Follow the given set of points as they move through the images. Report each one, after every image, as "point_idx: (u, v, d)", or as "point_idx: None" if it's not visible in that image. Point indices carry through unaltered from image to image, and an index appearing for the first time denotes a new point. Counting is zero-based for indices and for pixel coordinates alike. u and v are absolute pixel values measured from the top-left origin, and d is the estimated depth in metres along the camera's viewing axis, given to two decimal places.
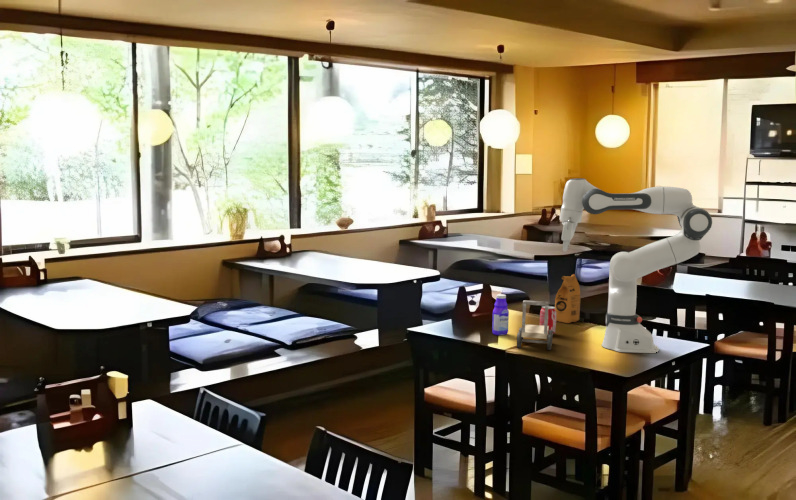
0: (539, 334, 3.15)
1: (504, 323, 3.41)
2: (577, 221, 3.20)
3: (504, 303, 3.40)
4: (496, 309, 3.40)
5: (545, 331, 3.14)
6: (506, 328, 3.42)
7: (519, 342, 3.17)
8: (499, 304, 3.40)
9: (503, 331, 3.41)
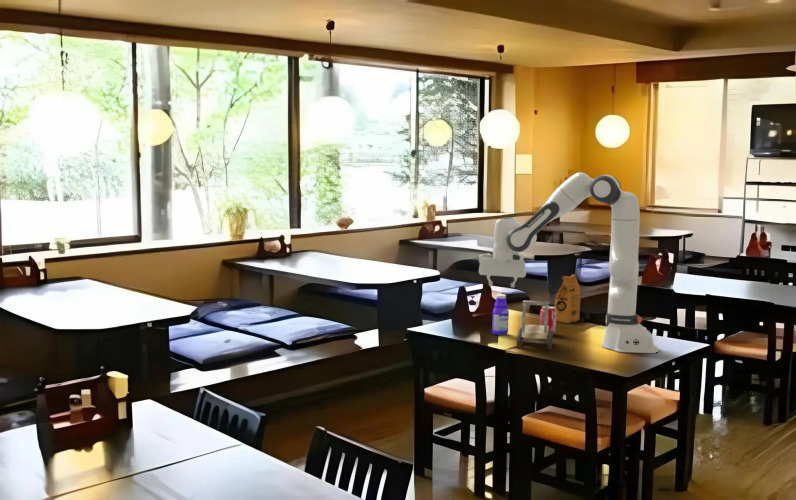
0: (539, 334, 3.15)
1: (504, 323, 3.41)
2: (495, 257, 3.38)
3: (504, 303, 3.40)
4: (496, 309, 3.40)
5: (545, 331, 3.14)
6: (506, 328, 3.42)
7: (519, 342, 3.17)
8: (499, 304, 3.40)
9: (503, 331, 3.41)
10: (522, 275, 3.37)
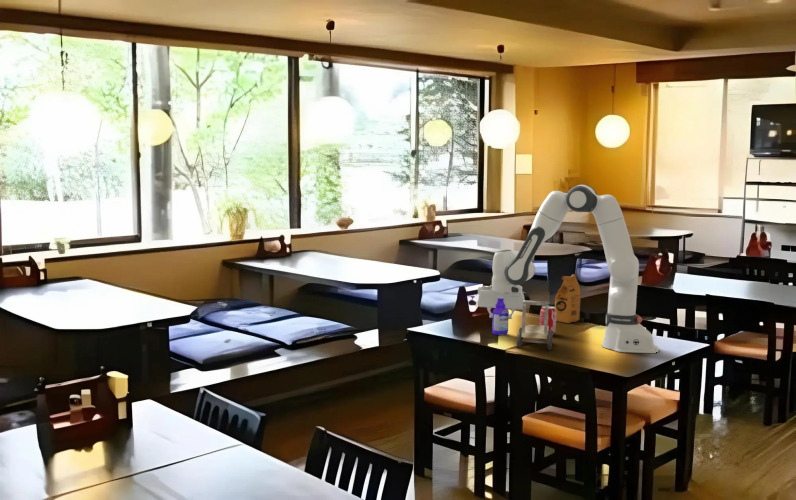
0: (539, 334, 3.15)
1: (504, 323, 3.41)
2: (493, 290, 3.39)
3: None
4: (496, 309, 3.40)
5: (545, 331, 3.14)
6: (506, 328, 3.42)
7: (519, 342, 3.17)
8: (499, 304, 3.40)
9: (503, 331, 3.41)
10: (521, 307, 3.39)
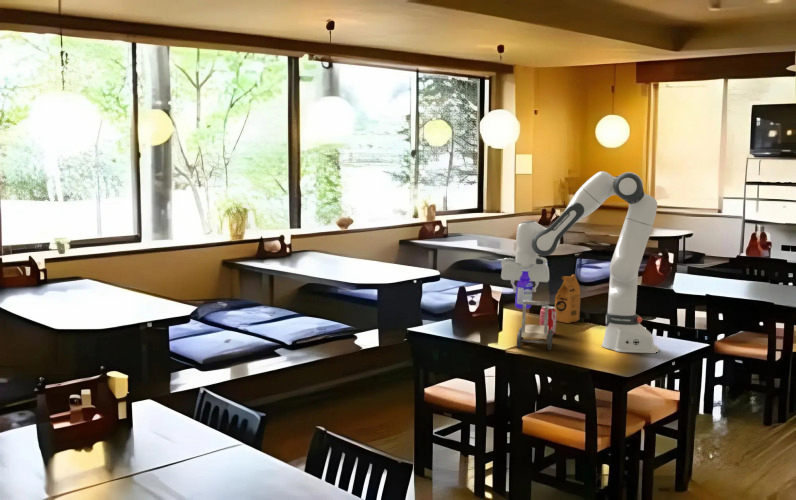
0: (539, 334, 3.15)
1: (528, 297, 3.33)
2: (517, 262, 3.31)
3: None
4: (520, 282, 3.32)
5: (545, 331, 3.14)
6: None
7: (519, 342, 3.17)
8: (524, 277, 3.32)
9: (527, 305, 3.33)
10: (546, 280, 3.30)
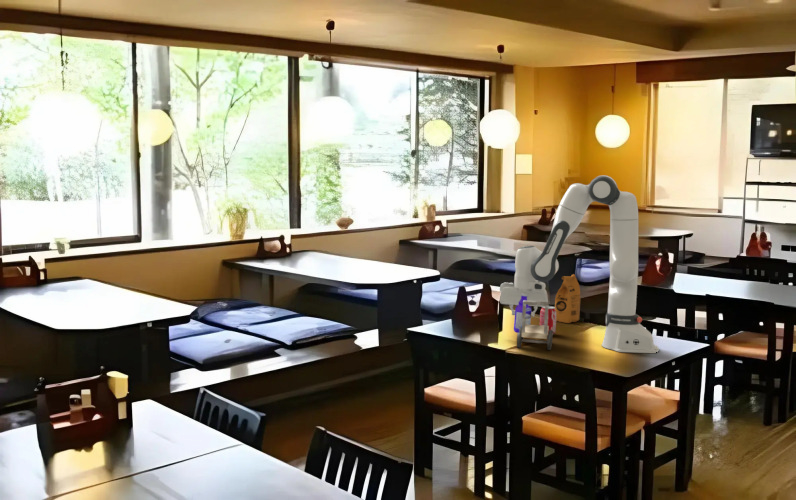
0: (539, 334, 3.15)
1: (527, 321, 3.34)
2: (516, 287, 3.32)
3: None
4: (519, 307, 3.34)
5: (545, 331, 3.14)
6: None
7: (519, 342, 3.17)
8: None
9: None
10: None
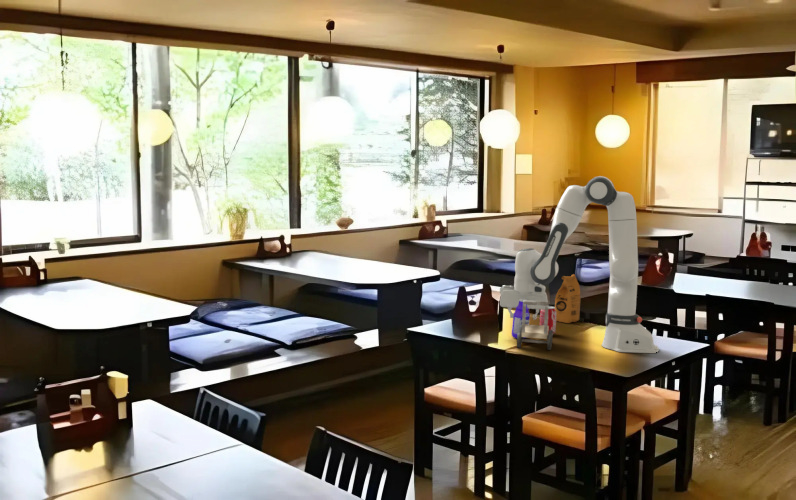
0: (539, 334, 3.15)
1: None
2: (516, 289, 3.32)
3: (526, 306, 3.33)
4: (517, 312, 3.34)
5: (545, 331, 3.14)
6: None
7: (519, 342, 3.17)
8: (521, 308, 3.33)
9: None
10: (544, 307, 3.32)
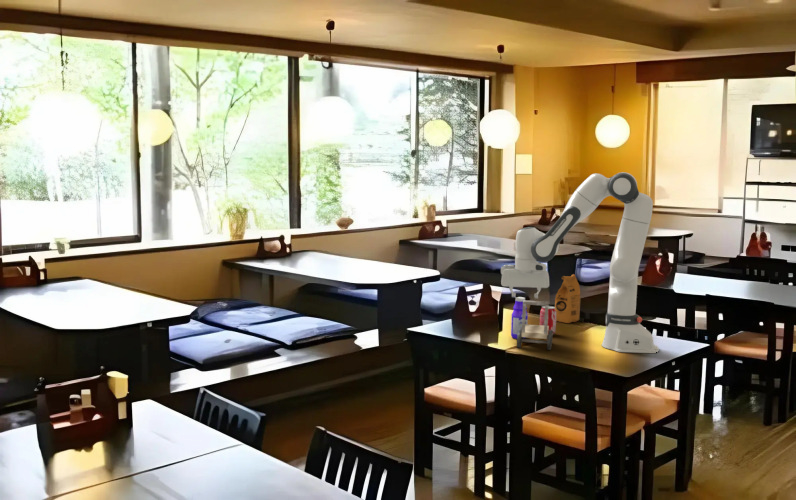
0: (539, 334, 3.15)
1: None
2: (517, 268, 3.31)
3: None
4: (515, 312, 3.34)
5: (545, 331, 3.14)
6: None
7: (519, 342, 3.17)
8: (519, 307, 3.34)
9: None
10: (546, 285, 3.31)
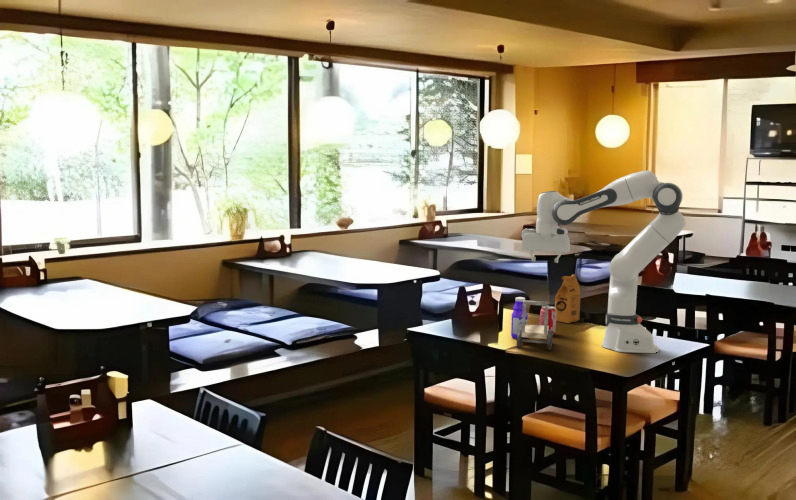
0: (539, 334, 3.15)
1: None
2: (538, 232, 3.29)
3: None
4: (515, 312, 3.34)
5: (545, 331, 3.14)
6: None
7: (519, 342, 3.17)
8: (519, 307, 3.34)
9: None
10: (566, 250, 3.29)
